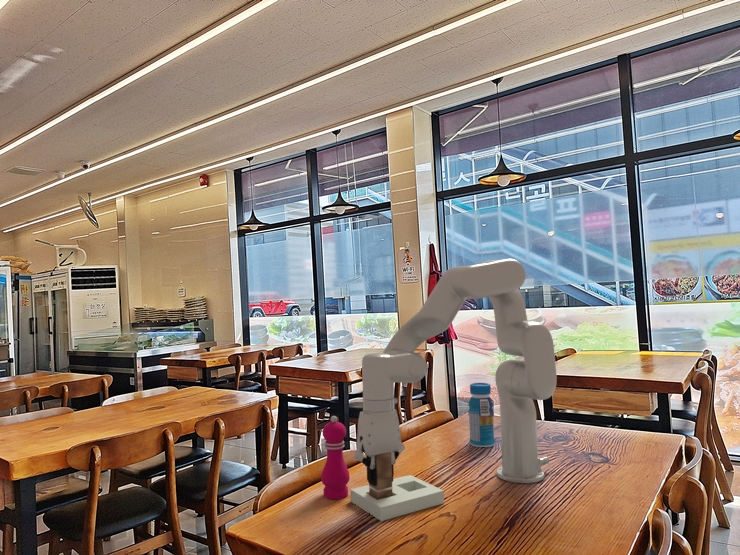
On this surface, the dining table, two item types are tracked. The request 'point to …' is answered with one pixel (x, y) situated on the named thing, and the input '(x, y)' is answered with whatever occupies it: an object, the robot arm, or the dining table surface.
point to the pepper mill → (335, 461)
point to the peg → (382, 477)
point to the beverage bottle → (481, 415)
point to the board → (399, 498)
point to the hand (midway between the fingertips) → (380, 481)
